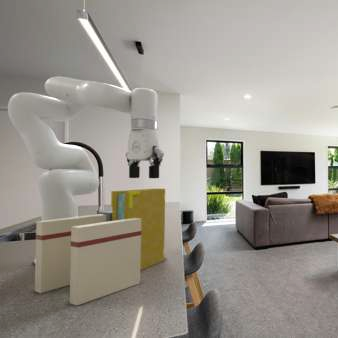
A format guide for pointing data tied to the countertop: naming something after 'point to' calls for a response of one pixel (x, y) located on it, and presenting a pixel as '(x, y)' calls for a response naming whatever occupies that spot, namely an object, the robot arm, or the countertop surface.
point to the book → (144, 219)
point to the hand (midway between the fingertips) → (144, 178)
